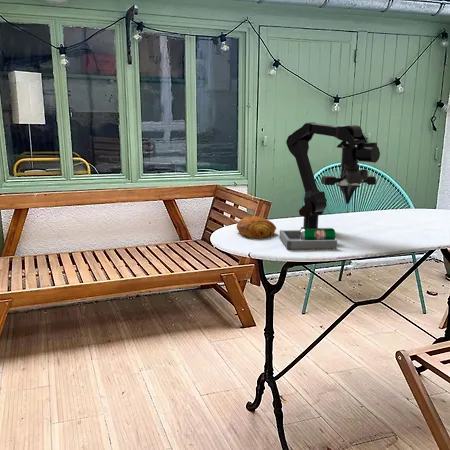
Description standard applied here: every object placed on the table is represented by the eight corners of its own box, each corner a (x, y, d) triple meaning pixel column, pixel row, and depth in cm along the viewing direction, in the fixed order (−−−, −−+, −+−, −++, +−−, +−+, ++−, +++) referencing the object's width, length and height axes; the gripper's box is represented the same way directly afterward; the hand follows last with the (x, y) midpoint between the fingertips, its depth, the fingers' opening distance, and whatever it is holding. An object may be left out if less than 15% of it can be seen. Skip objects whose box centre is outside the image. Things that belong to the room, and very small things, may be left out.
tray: (279, 238, 171) (279, 230, 170) (324, 237, 172) (324, 229, 171) (287, 249, 155) (287, 241, 154) (336, 249, 156) (337, 240, 155)
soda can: (336, 242, 161) (302, 242, 160) (332, 242, 166) (299, 242, 165) (335, 228, 161) (302, 228, 160) (331, 228, 166) (298, 228, 165)
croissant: (244, 245, 169) (244, 225, 166) (232, 230, 183) (233, 211, 180) (280, 242, 173) (282, 222, 170) (266, 227, 187) (267, 209, 184)
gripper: (330, 163, 156) (327, 208, 160) (383, 162, 157) (380, 207, 161) (321, 160, 167) (319, 202, 171) (372, 160, 168) (369, 202, 172)
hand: (347, 203), depth 168 cm, fingers closed
